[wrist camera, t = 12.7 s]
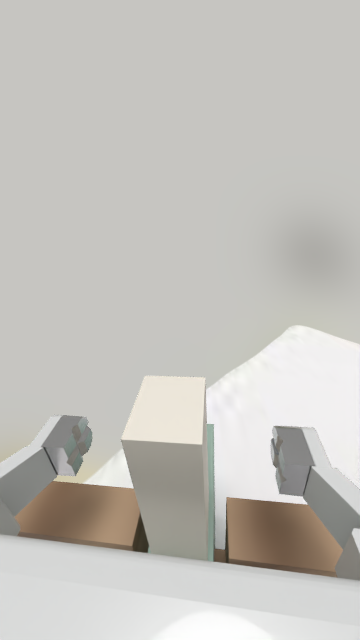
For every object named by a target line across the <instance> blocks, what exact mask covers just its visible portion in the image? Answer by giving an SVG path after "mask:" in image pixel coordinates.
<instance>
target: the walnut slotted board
mask: <svg viewBox="0 0 360 640" xmlns="http://www.w3.org/2000/svg"><path fill="white" fill-rule="evenodd" d="M15 519H16V520H17V522H18V523H19V524H20V531H19V533H18V535H17V536H19V537H27V538H34V539H42V540H50V541H58V542H66V543H73V544H81V545H89V546H97V547H104V548H112V549H120V550H128V551H135V552H143V553H148V549H149V543H148V540H147V536H146V532H145V528H144V525H143V521H142V517H141V513H140V509H139V506H138V502H137V498H136V494H135V491H134V489H132V488H121V487H110V486H99V485H89V484H78V483H67V482H56V481H52V482H51V483H50V484H49V485H48V486H47V487H45V488H44V489H43V490H42V491H41V492H40V493H39V494H38V495H37V496H36V497H35V498H34V499H33V500H32V501H31V502H30V503H29V504H28V505H27V506H25V507H24V508H23V509H22V510H21V511H20V512H19V513H18V514H17V515H16V516H15ZM342 552H343V549H342V548H341V546H340V545H339V544H338V543H337V541H336V540H335V539H334V537H333V536H332V535H331V533H330V532H329V531H328V530H327V528H326V527H325V526H324V524H323V523H322V522H321V520H320V519H319V518H318V516H317V515H316V514H315V513H314V511H313V510H312V509H311V507H310V506H309V505H304V504H293V503H282V502H272V501H261V500H250V499H239V498H229V497H227V502H226V545H225V550H221V549H214V562H220V563H228V564H236V565H244V566H251V567H259V568H267V569H274V570H282V571H290V572H298V573H305V574H313V575H321V576H329V577H336V578H338V577H337V574H336V571H335V566H336V564H337V562H338V560H339V558H340V556H341V554H342Z"/></svg>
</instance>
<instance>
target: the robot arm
mask: <svg viewBox="0 0 360 640" xmlns="http://www.w3.org/2000/svg"><path fill="white" fill-rule="evenodd" d="M87 424H88V420H87V418H86V417H79V416H67V415H53V416H51V417H50V418H49V420H48V421H47V422H46V424H45V425H44V427H43V428H42V429H41V431H40V432H39V433H38V435H37V436H36V437H35V439H34V440H33V442H32V443H31V444H30V446H25V447H24V448H22V449H21V450H19V451H18V452H16V453H15V454H14V455H12V456H10V457H9V458H7V459H6V460H4V461H3V462H1V463H0V640H360V489H359V488H358V487H357V486H356V485H354V484H353V483H352V482H351V481H350V480H349V479H348V478H347V477H346V476H345V475H343V474H342V473H341V472H340V471H339V470H338V469H337V468H332V466H331V464H330V462H329V460H328V457H327V455H326V453H325V450H324V448H323V446H322V443H321V441H320V439H319V437H318V434H317V432H316V430H315V429H314V428H309V427H292V426H274V427H273V430H272V433H273V437H274V438H273V439H271V457H272V462H273V465H274V466H275V467H276V468H277V469H276V480H277V485H278V489H279V494H285V495H294V496H303V498H304V500H305V501H306V502H307V503H308V505H309V506H310V507H311V509H312V510H313V511H314V513H315V514H316V515H317V516H318V518H319V519H320V520H321V522H322V523H323V524H324V526H325V527H326V528H327V530H328V531H329V532H330V533H331V535H332V536H333V537H334V539H335V540H336V541H337V543H338V544H339V545H340V546H341V548H342V549H343V552H342V554H341V556H340V558H339V560H338V562H337V564H336V566H335V571H336V574H337V577H338V578H336V577H329V576H321V575H313V574H305V573H298V572H290V571H282V570H274V569H267V568H259V567H251V566H244V565H236V564H228V563H220V562H213V561H205V560H197V559H189V558H182V557H174V556H166V555H158V554H151V553H143V552H135V551H128V550H120V549H112V548H104V547H97V546H89V545H81V544H73V543H66V542H58V541H50V540H42V539H34V538H27V537H19V536H17V535H18V533H19V531H20V524H19V523H18V522H17V520H16V519H15V516H16V515H17V514H18V513H19V512H20V511H21V510H22V509H23V508H24V507H25V506H27V505H28V504H29V503H30V502H31V501H32V500H33V499H34V498H35V497H36V496H37V495H38V494H39V493H40V492H41V491H42V490H43V489H44V488H45V487H47V486H48V485H49V484H50V483H51V482H52V481H53V480H54V479H55V478H56V477H57V475H64V476H76V474H77V472H78V470H79V468H80V466H81V464H82V462H83V457H82V456H83V455H84V454H85V453H86V452H88V450H89V448H90V446H91V442H92V432H91V429H90V428H89V427H88V426H87Z"/></svg>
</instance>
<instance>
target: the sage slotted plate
mask: <svg viewBox="0 0 360 640" xmlns="http://www.w3.org/2000/svg"><path fill="white" fill-rule="evenodd" d="M121 442H122V445H123V449H124V453H125V457H126V460H127V464H128V468H129V472H130V476H131V479H132V483H133V487H134V491H135V494H136V498H137V502H138V506H139V509H140V513H141V517H142V521H143V525H144V528H145V532H146V536H147V540H148V543H149V549H148V553H151V554H158V555H166V556H174V557H182V558H189V559H197V560H205V561H213V562H214V549H215V492H214V424H207V416H206V386H205V377H171V376H145V377H144V380H143V383H142V385H141V388H140V390H139V393H138V396H137V399H136V401H135V404H134V406H133V409H132V411H131V414H130V417H129V419H128V422H127V425H126V427H125V430H124V433H123V436H122V438H121Z"/></svg>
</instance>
